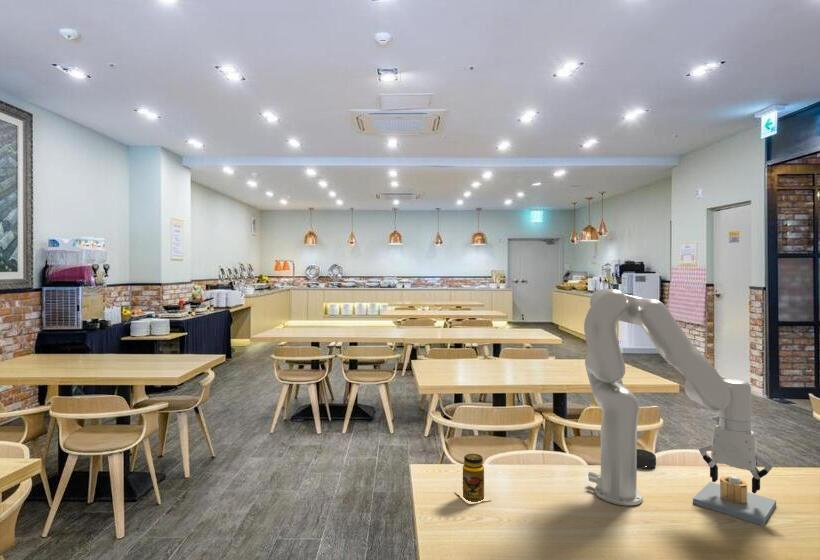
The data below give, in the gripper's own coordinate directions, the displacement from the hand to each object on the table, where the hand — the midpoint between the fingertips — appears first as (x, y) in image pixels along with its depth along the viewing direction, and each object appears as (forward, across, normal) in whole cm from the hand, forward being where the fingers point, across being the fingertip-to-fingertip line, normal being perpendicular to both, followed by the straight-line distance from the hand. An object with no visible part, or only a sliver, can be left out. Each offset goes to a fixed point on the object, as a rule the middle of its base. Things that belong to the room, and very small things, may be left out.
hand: (734, 485), depth 128 cm
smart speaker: (+6, -29, +11) cm, 32 cm away
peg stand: (+5, 0, 0) cm, 5 cm away
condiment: (+5, -52, -51) cm, 73 cm away
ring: (+4, 0, 0) cm, 4 cm away
